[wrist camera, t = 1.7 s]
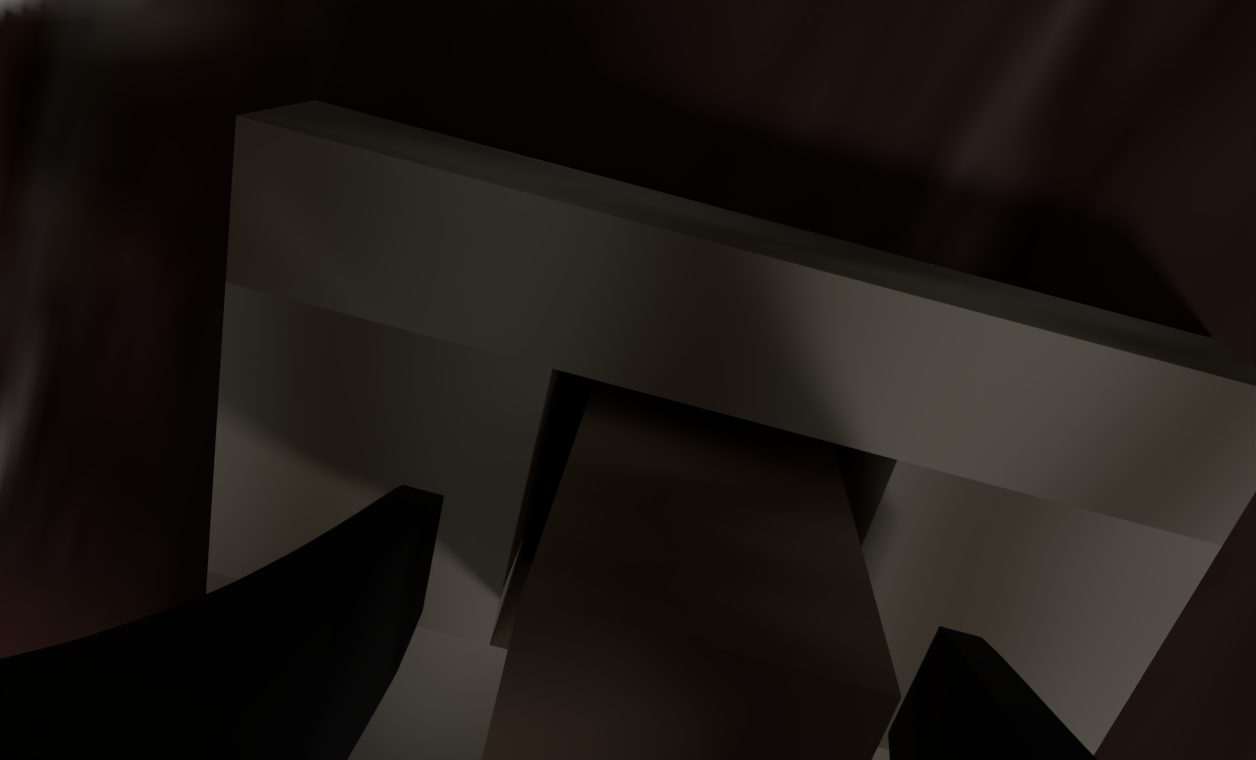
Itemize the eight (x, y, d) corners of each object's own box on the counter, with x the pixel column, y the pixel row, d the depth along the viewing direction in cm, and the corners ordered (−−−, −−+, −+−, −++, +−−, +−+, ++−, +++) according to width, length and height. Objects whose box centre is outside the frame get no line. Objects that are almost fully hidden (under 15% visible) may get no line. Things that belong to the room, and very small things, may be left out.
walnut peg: (825, 413, 15) (902, 697, 9) (757, 594, 17) (781, 948, 10) (603, 354, 15) (520, 597, 9) (556, 541, 17) (456, 863, 10)
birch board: (1214, 339, 14) (1320, 406, 12) (816, 1064, 22) (829, 1198, 19) (314, 99, 14) (228, 117, 12) (235, 913, 22) (174, 1027, 19)
